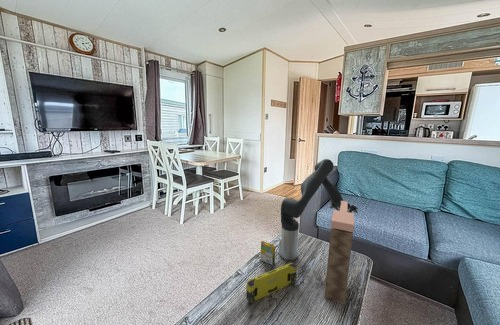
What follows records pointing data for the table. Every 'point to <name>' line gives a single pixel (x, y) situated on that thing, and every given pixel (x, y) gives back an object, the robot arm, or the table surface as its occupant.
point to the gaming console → (270, 282)
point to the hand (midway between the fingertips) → (344, 204)
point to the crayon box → (267, 252)
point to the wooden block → (338, 265)
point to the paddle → (343, 218)
